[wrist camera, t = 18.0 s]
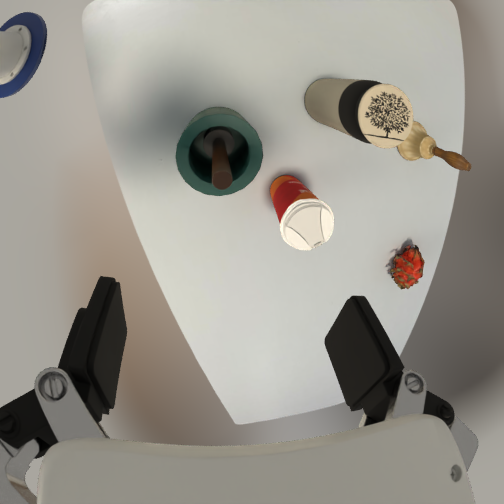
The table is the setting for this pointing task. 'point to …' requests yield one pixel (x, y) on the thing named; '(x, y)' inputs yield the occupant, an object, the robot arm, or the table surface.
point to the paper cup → (301, 214)
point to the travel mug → (362, 110)
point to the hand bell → (428, 149)
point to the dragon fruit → (408, 267)
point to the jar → (200, 164)
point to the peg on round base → (219, 155)
